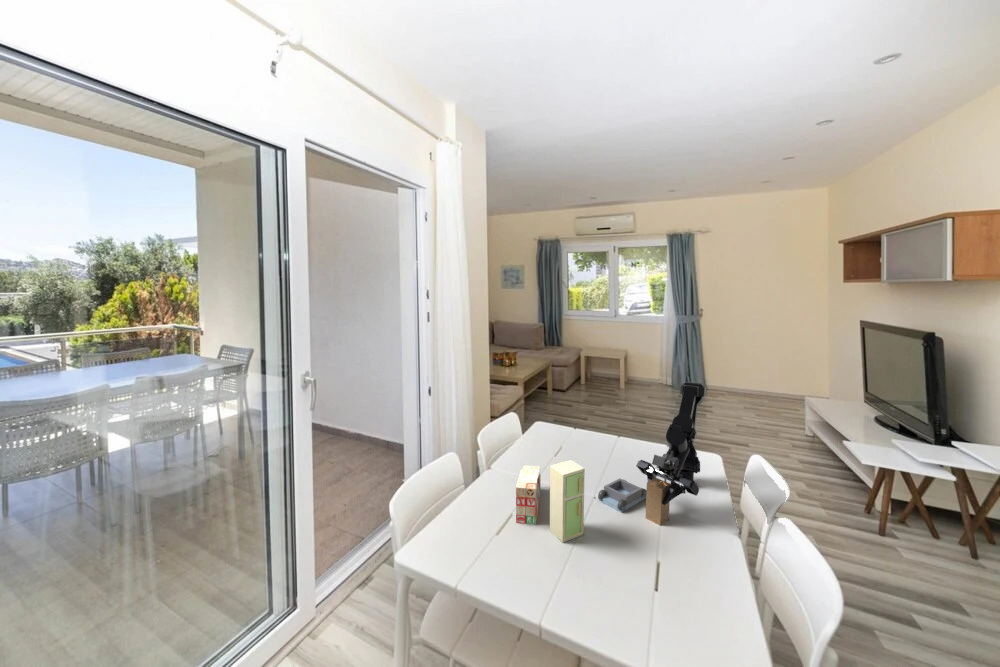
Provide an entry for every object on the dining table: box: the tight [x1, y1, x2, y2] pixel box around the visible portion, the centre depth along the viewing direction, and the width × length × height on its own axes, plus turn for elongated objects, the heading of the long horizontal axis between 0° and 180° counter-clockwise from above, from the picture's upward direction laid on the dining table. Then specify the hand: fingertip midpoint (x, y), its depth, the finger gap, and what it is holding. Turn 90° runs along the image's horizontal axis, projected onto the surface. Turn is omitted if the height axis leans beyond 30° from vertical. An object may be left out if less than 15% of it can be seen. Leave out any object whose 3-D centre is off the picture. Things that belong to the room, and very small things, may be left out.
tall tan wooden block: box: [645, 477, 671, 526], centre depth 122 cm, size 5×5×12 cm
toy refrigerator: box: [549, 459, 586, 543], centre depth 114 cm, size 8×7×21 cm
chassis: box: [597, 477, 647, 513], centre depth 134 cm, size 15×9×4 cm, turn 127°
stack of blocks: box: [515, 465, 542, 526], centre depth 130 cm, size 21×6×12 cm, turn 170°
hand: (655, 500), depth 121 cm, fingers closed on tall tan wooden block, 5 cm apart
